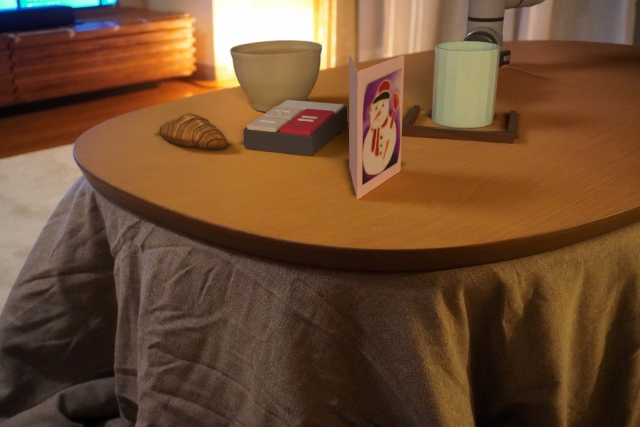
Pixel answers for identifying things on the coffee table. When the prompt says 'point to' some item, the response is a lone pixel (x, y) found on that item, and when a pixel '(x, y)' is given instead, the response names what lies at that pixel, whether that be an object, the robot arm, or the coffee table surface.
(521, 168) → the coffee table surface
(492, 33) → the robot arm
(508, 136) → the bay
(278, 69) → the planter bowl
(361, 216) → the coffee table surface
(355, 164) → the greeting card
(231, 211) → the coffee table surface
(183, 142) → the croissant
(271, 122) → the calculator
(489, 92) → the cup
